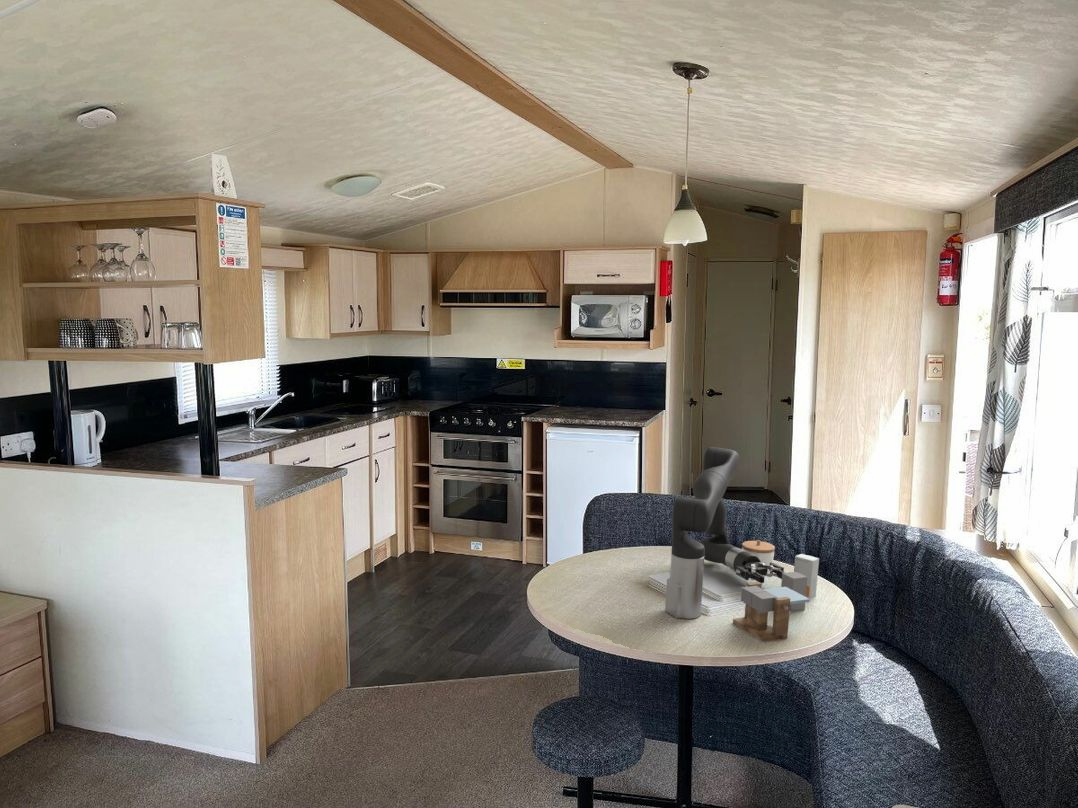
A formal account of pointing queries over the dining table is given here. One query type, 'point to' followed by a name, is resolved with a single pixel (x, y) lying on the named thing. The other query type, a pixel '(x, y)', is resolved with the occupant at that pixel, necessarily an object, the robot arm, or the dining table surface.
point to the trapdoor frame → (758, 621)
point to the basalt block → (795, 587)
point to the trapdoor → (769, 597)
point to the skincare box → (808, 572)
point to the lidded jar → (760, 550)
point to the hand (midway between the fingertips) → (775, 578)
